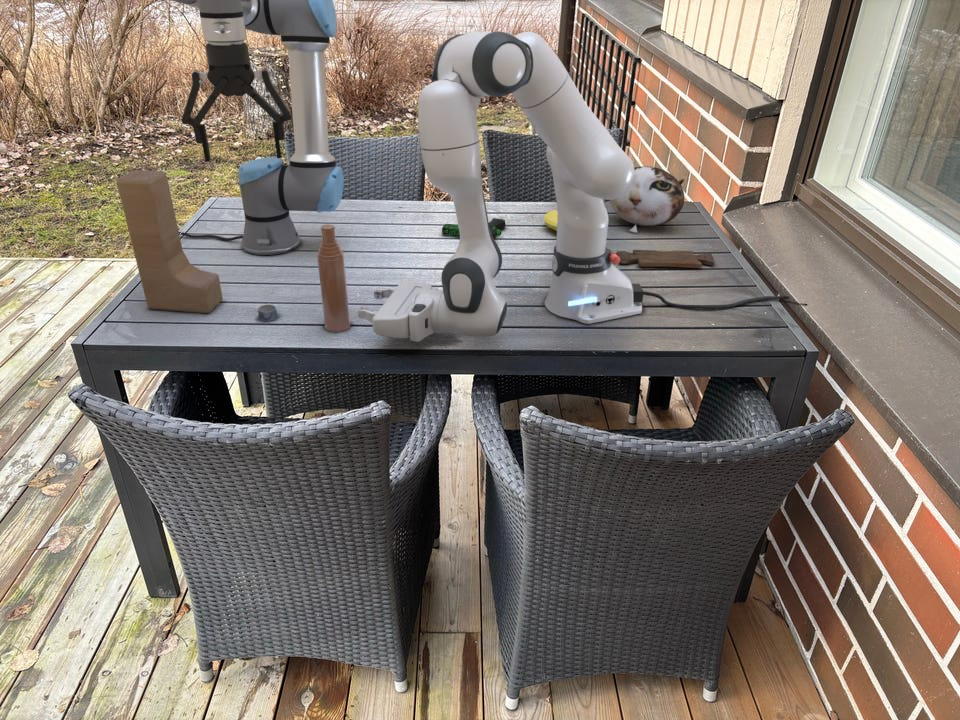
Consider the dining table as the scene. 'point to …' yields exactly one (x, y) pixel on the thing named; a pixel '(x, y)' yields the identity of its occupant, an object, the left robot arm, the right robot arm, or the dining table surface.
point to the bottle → (333, 282)
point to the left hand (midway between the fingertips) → (244, 158)
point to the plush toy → (650, 198)
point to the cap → (267, 312)
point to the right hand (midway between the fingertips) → (367, 302)
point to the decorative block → (163, 247)
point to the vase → (551, 219)
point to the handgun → (494, 225)
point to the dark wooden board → (665, 258)
